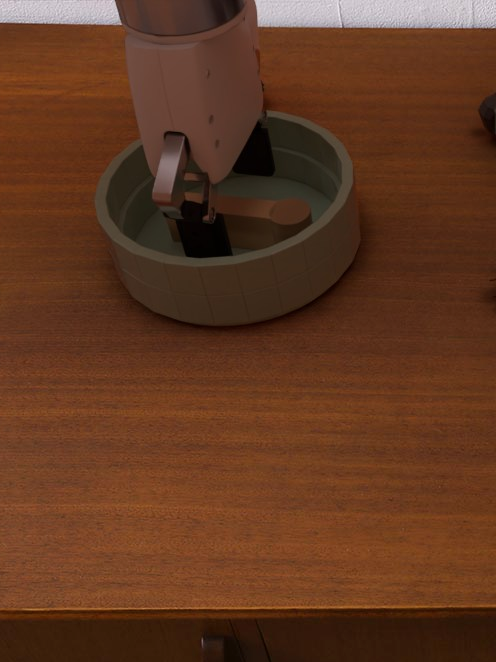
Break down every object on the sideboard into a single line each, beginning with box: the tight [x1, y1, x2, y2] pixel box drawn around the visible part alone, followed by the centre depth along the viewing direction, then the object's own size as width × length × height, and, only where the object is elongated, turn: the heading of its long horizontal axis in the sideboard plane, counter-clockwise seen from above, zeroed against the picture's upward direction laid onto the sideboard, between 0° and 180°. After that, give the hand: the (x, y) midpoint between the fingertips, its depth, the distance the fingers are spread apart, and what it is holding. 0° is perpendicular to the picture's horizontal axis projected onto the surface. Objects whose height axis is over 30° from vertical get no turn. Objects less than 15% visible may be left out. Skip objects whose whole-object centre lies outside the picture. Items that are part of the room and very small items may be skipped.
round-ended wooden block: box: [166, 192, 313, 250], centre depth 73 cm, size 10×3×3 cm, turn 82°
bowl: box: [93, 109, 362, 327], centre depth 72 cm, size 18×18×6 cm
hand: (233, 213), depth 72 cm, fingers open, 9 cm apart
